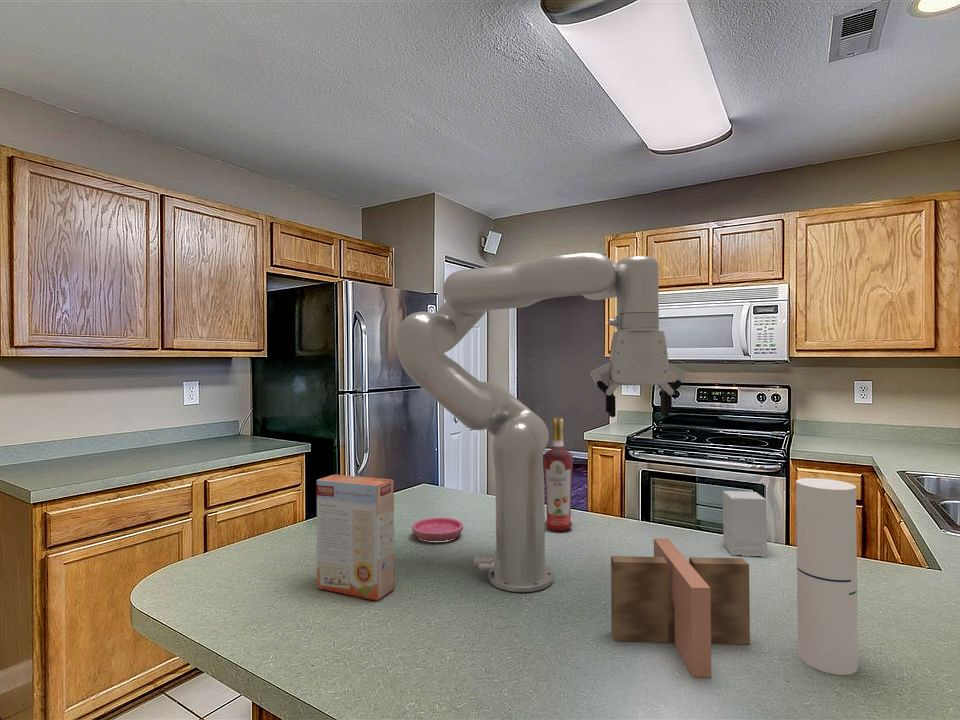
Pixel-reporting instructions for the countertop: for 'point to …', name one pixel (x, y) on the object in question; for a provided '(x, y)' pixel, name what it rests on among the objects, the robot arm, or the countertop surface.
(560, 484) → the liquor
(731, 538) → the supplement box
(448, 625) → the countertop surface
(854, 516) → the cylindrical container
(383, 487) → the cracker box
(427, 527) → the saucer
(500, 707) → the countertop surface
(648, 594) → the walnut slotted plate
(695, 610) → the terracotta slotted plate
